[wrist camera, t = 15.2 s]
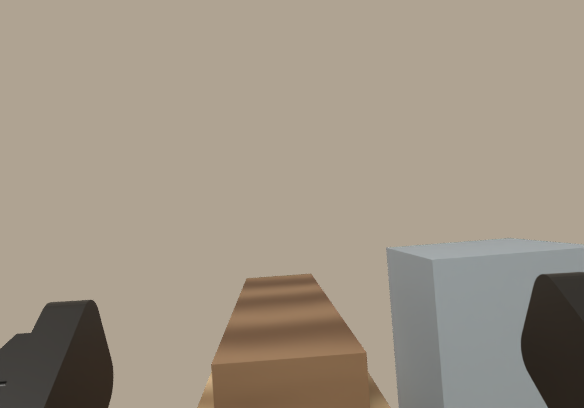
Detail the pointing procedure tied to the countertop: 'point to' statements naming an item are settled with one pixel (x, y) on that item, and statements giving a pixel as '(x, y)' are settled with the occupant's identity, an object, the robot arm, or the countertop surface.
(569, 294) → the robot arm
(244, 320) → the brown wooden bar
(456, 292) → the stand
